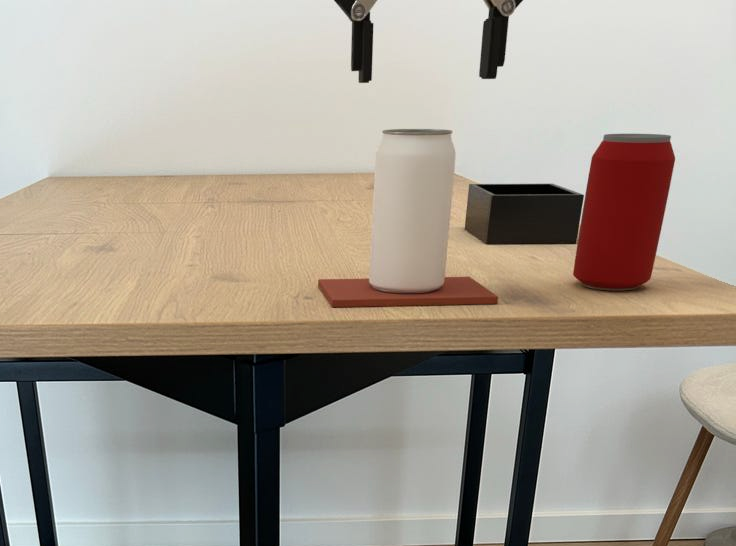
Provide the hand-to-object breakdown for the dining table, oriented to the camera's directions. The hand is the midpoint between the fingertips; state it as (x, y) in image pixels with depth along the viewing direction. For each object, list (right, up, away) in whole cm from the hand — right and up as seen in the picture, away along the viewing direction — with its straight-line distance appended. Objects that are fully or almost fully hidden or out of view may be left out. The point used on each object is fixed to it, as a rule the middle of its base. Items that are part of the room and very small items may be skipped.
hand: (426, 80), depth 73 cm
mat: (0, -14, +8) cm, 16 cm away
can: (0, -13, +8) cm, 16 cm away
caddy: (+18, +4, +37) cm, 41 cm away
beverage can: (+19, -12, +12) cm, 25 cm away
